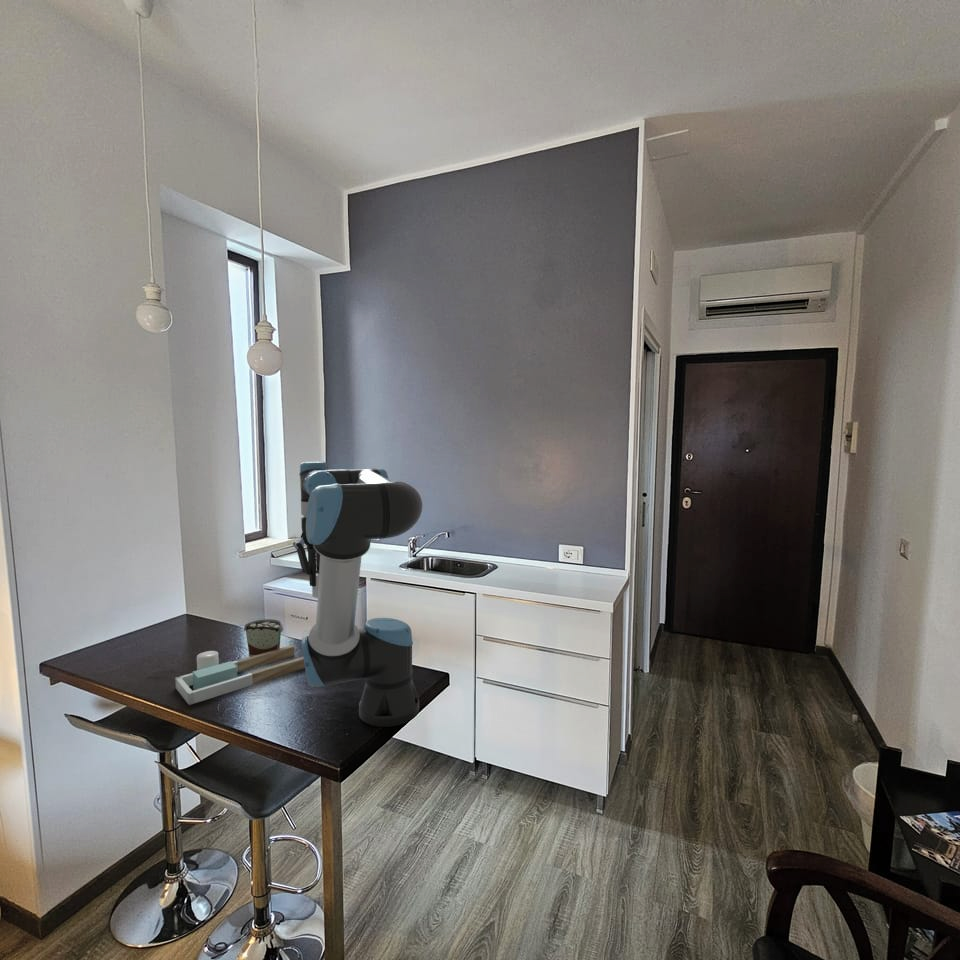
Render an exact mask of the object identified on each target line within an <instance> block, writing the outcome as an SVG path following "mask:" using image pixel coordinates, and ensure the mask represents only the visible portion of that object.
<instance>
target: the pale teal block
mask: <svg viewBox="0 0 960 960" xmlns="http://www.w3.org/2000/svg"><path fill="white" fill-rule="evenodd" d="M232 662H233V661H232V660H231V661H227V662H222V663H219V665H215V666H212V667H213V668H214V669H215V670H216V671H217V672H218V683H220V682H223V681H227V680H230V679H233V678H237V677H238V672H237V666H236V665H234V664H233V663H232Z"/></svg>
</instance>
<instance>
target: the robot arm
mask: <svg viewBox="0 0 960 960" xmlns="http://www.w3.org/2000/svg"><path fill="white" fill-rule="evenodd" d="M299 465H300V466H299V481H300V482H299V483H300V485H299V486H300V510H301V511H300V512H301V513H300V514H301V518H300V519H301V522H300V523H301V535H300V539H298V540H297V541H293V543H292V545H293V547H294V548H295V550H296V553H297V557H298V560H299V563H300V568H301V570H302V571H301V572H302V573H303V574H305V575H308V576H309V580H308V581H309V586H310V587H311V590H312V591H311V592H312V597H314V598H316V599H317V602H316V604H317V606H316V621H315V622H316V623H315V624H314V625H313V626H312V627H311V629H310V631H309V633H308V636H305V637H303V638H302V639H301V640H300V643H301V651H302V657H303V658H304V664H305V668H304V670H305V675H306V676H305V677H306V681H307V685H309V686H310V687H312V688H315V687H316V688H317V687H327V686H330V685H336V684H340V683H346V682H351V681H357V680H361V679H365V685H364V688H363V690H362V691H363V692H362V693H361V698H360V701H359V703H358V716H359V718H360V719H361V721H362V722H364V723H365V724H367V725H370V726H374V727H378V728H381V727H382V728H388V727H389V728H390V727H397V726H401V725H403V724H406V723H408V722H410V721H412V720H414V719H415V718H416V717H417V715H418V714H419V712H420V698H419V696H418V692H417V690H416V687H415V684H414V682H413V645H414V642H413V634H412V629H411V626H410V625H409V624H408V623H407V622H404V621H402V620H399V619H397V618H391V617H376V618H371V619H368V620H367V621H365V624H364V626H363V628H361V629H359V628H358V626H357V625H356V624H355V622H356V614H357V604H358V593H359V584H360V575H361V567H362V565H361V564H362V557H363V556H364V555H366V554H367V553H368V552H369V550H370V547H371V540H372V541H373V540H382V539H392V538H395V537H398V536H402V535H403V534H405V533H407V532H408V531H410V530H411V529H412V528H413V527H414V526H415V525H416V524H417V522H419V519H420V517H421V515H422V512H423V511H422V510H423V500H422V497H421V495H420V494H419V491H417V489H416V488H415V487H413V486H412V485H410V484H409V483H406V482H403V481H393V480H391V479H389V475H388V472H387V471H386V470H385V469H384V468H366V469H365V468H364V469H363V468H361V469H328V463H327V462H325V461H304V462H301V463H300V464H299ZM305 546H306V550H305V548H304V547H305ZM306 551H307V552H306ZM408 720H409V721H408Z"/></svg>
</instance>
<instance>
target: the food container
mask: <svg viewBox="0 0 960 960" xmlns="http://www.w3.org/2000/svg"><path fill="white" fill-rule="evenodd" d="M243 631H244V632H245V636H246V642H247V643H246V645H247V651H248V657H252V656H255V655H259V654H262V653H266V652H269V651H273V650H277V649H280V647H281V634H282V633H283V632H284V627H283V623H282V622H281V621H280V620H277V619H273V618H269V619H268V618H265V619H264V618H263V619H258V620H253V621H249V622H248V623H246V624H245V625H244V626H243Z"/></svg>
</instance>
